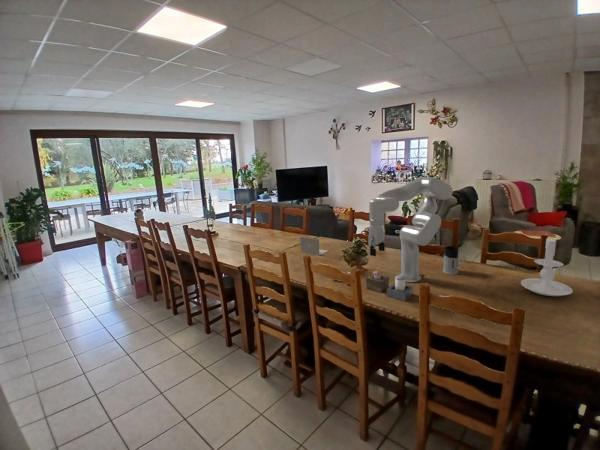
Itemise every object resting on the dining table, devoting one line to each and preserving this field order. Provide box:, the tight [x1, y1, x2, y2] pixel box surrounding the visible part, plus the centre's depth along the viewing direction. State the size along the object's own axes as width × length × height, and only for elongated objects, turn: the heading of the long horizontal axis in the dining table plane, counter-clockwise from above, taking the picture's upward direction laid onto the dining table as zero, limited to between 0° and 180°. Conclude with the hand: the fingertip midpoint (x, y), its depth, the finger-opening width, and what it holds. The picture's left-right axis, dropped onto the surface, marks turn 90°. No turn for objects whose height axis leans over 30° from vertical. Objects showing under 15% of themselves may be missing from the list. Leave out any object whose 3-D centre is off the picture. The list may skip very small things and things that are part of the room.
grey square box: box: [365, 273, 390, 293], centre depth 173 cm, size 9×9×6 cm
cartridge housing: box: [386, 282, 414, 302], centre depth 163 cm, size 10×10×4 cm
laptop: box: [299, 236, 329, 256], centre depth 244 cm, size 18×12×13 cm
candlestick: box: [520, 238, 574, 297], centre depth 156 cm, size 21×25×28 cm
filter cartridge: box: [394, 274, 406, 292], centre depth 162 cm, size 5×5×10 cm
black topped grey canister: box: [442, 245, 466, 275], centre depth 186 cm, size 9×14×15 cm, turn 18°
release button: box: [372, 270, 383, 280], centre depth 173 cm, size 5×5×6 cm
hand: (377, 253), depth 169 cm, fingers open, 9 cm apart
